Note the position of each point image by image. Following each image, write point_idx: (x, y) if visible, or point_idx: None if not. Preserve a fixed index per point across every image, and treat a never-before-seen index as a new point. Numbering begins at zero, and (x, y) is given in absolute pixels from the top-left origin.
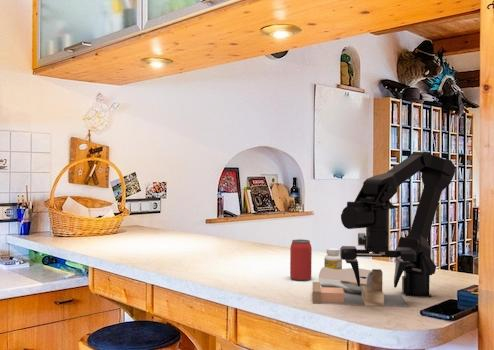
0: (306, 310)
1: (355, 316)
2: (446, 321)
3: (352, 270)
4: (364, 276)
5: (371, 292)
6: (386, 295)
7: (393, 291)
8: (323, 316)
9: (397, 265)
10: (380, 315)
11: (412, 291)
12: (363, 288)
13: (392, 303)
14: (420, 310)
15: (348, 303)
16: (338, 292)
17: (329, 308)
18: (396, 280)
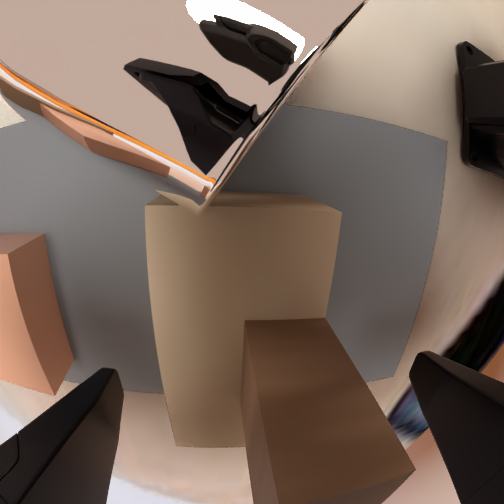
0: (3, 407)
1: (151, 469)
2: (406, 446)
3: (2, 7)
4: (158, 166)
5: (219, 429)
6: (368, 144)
7: (417, 25)
8: None
9: (499, 498)
10: (238, 462)
11: (499, 154)
12: (159, 337)
13: (343, 345)
14: (409, 386)
15: (94, 367)
16: (23, 376)
17: (45, 402)
18: (434, 426)
